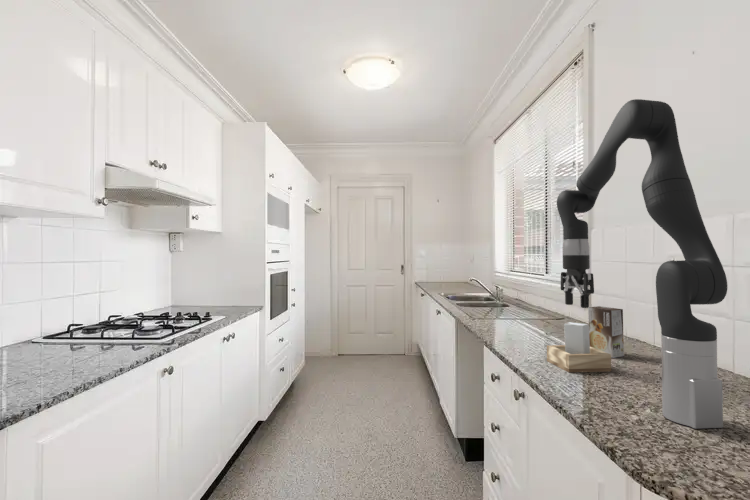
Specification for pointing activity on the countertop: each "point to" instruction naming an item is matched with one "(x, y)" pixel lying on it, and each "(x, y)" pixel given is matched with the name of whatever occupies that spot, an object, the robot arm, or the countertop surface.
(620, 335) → the coffee box
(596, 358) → the light wooden tray
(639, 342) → the countertop surface
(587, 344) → the skincare box
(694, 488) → the countertop surface
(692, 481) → the countertop surface
